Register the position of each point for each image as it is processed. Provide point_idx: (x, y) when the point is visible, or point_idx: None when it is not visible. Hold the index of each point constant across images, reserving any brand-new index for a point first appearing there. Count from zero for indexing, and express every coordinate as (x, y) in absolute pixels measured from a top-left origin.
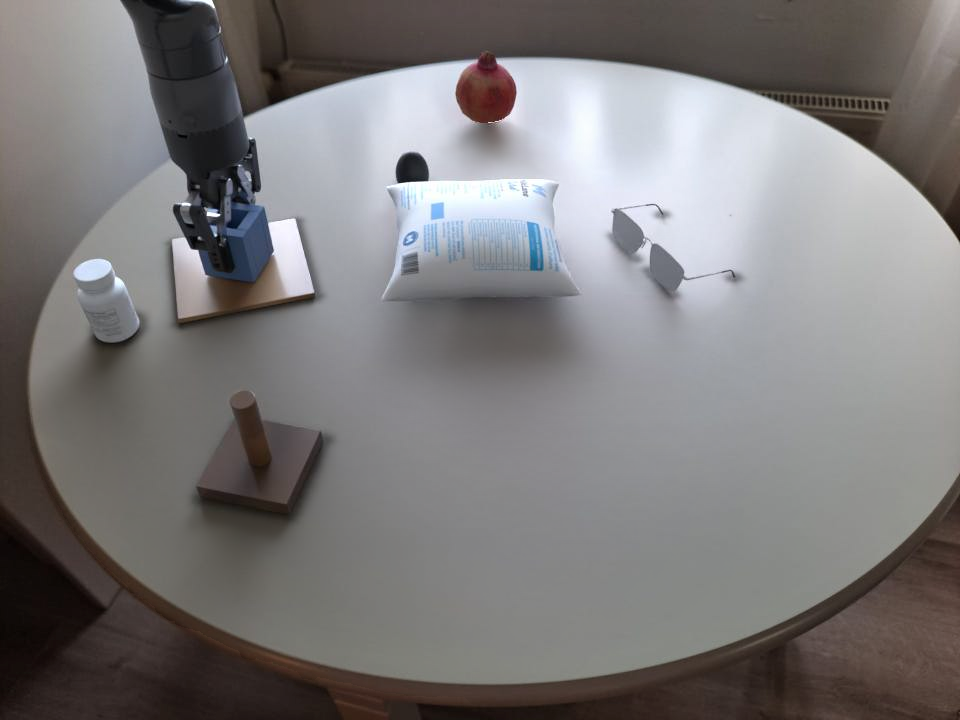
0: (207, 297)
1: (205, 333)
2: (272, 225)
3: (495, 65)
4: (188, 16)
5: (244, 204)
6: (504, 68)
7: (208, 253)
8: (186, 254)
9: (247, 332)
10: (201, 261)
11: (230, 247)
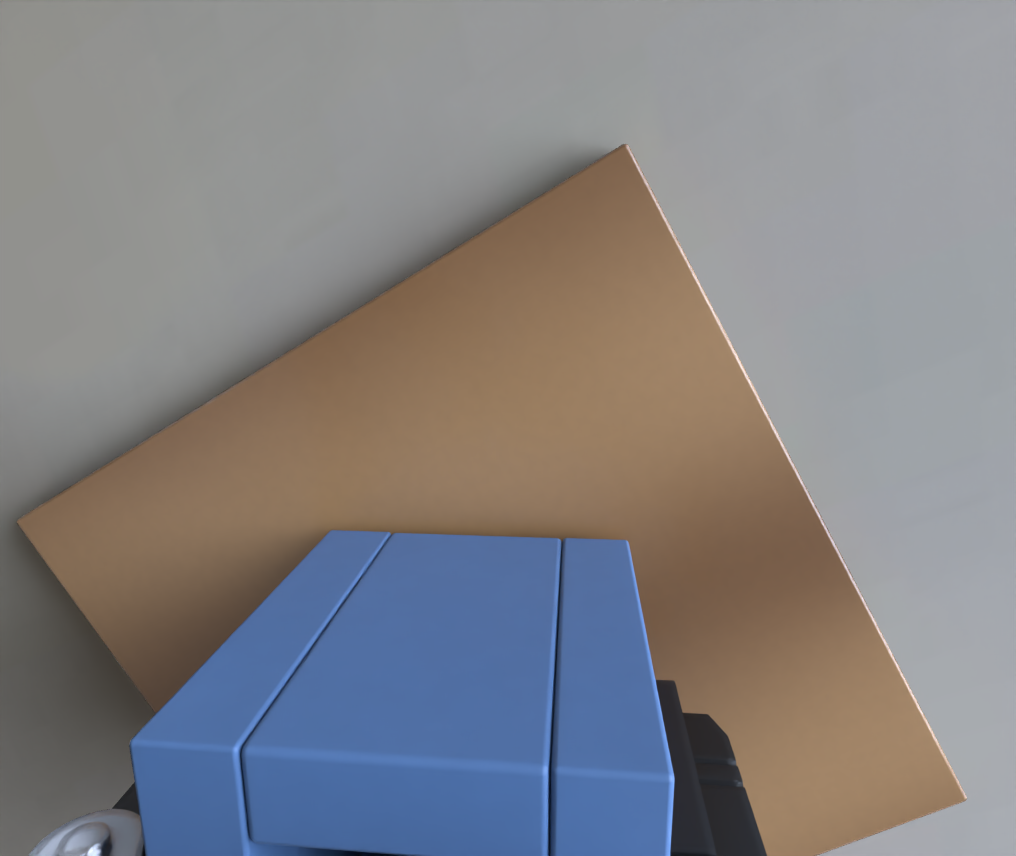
0: (198, 593)
1: (31, 645)
2: (872, 706)
3: None
4: None
5: None
6: None
7: (131, 790)
8: (496, 322)
9: (102, 802)
10: (290, 574)
11: None
